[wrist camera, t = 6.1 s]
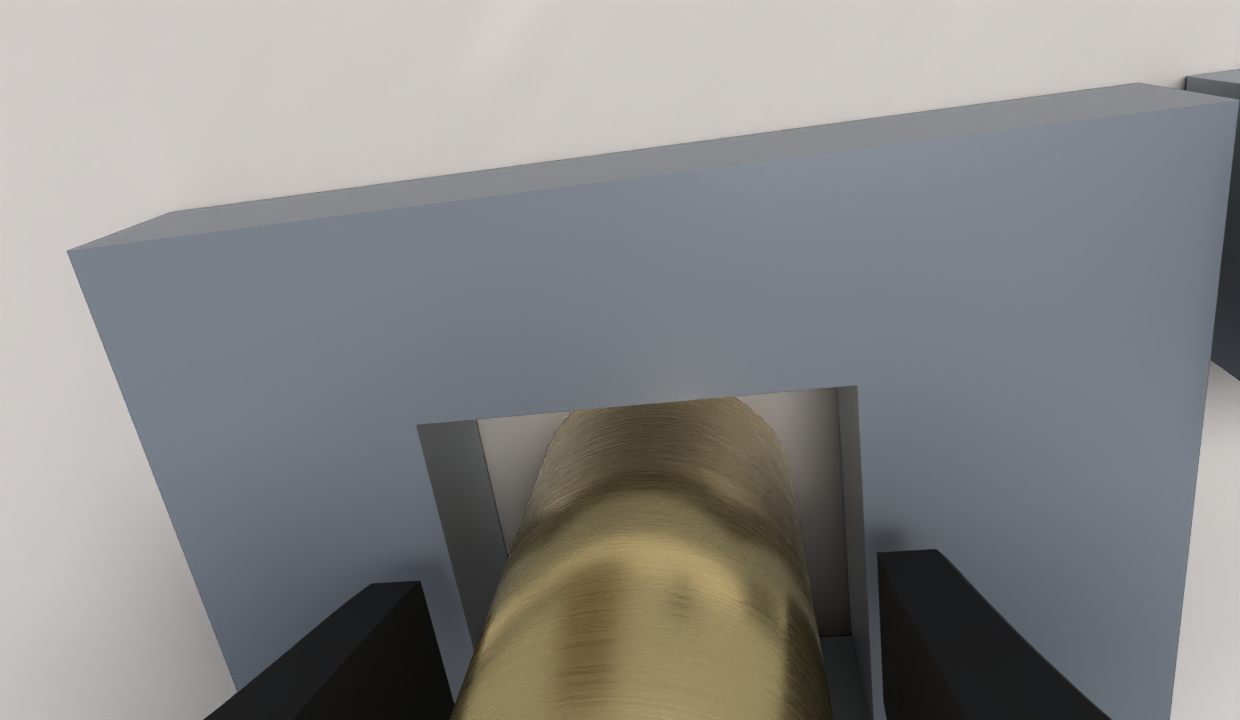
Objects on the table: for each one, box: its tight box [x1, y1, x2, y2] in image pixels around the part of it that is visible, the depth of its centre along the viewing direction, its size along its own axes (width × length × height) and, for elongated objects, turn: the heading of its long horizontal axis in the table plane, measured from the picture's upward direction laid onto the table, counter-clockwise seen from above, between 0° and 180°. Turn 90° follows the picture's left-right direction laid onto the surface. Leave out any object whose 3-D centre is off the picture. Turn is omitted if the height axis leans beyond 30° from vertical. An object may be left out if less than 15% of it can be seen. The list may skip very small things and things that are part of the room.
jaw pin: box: [449, 397, 833, 720], centre depth 10 cm, size 4×4×6 cm
